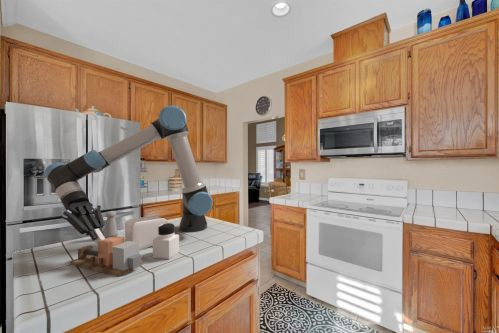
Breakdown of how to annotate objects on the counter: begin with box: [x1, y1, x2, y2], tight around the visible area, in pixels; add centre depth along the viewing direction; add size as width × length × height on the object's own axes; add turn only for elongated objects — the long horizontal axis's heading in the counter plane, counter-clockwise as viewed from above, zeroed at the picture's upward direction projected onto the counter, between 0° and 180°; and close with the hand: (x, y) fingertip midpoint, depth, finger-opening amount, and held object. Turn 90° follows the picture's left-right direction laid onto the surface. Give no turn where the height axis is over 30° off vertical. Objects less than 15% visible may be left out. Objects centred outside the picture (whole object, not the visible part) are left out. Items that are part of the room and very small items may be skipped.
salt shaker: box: [103, 210, 119, 239], centre depth 102 cm, size 6×6×13 cm
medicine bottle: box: [152, 222, 180, 260], centre depth 83 cm, size 7×7×12 cm
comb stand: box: [69, 245, 144, 277], centre depth 75 cm, size 24×9×5 cm, turn 70°
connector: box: [113, 241, 142, 271], centre depth 71 cm, size 7×6×7 cm
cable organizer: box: [124, 214, 168, 251], centre depth 94 cm, size 15×11×12 cm
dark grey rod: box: [84, 249, 113, 260], centre depth 76 cm, size 19×2×2 cm, turn 70°
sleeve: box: [97, 235, 125, 266], centre depth 74 cm, size 5×6×8 cm
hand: (103, 245), depth 75 cm, fingers closed
